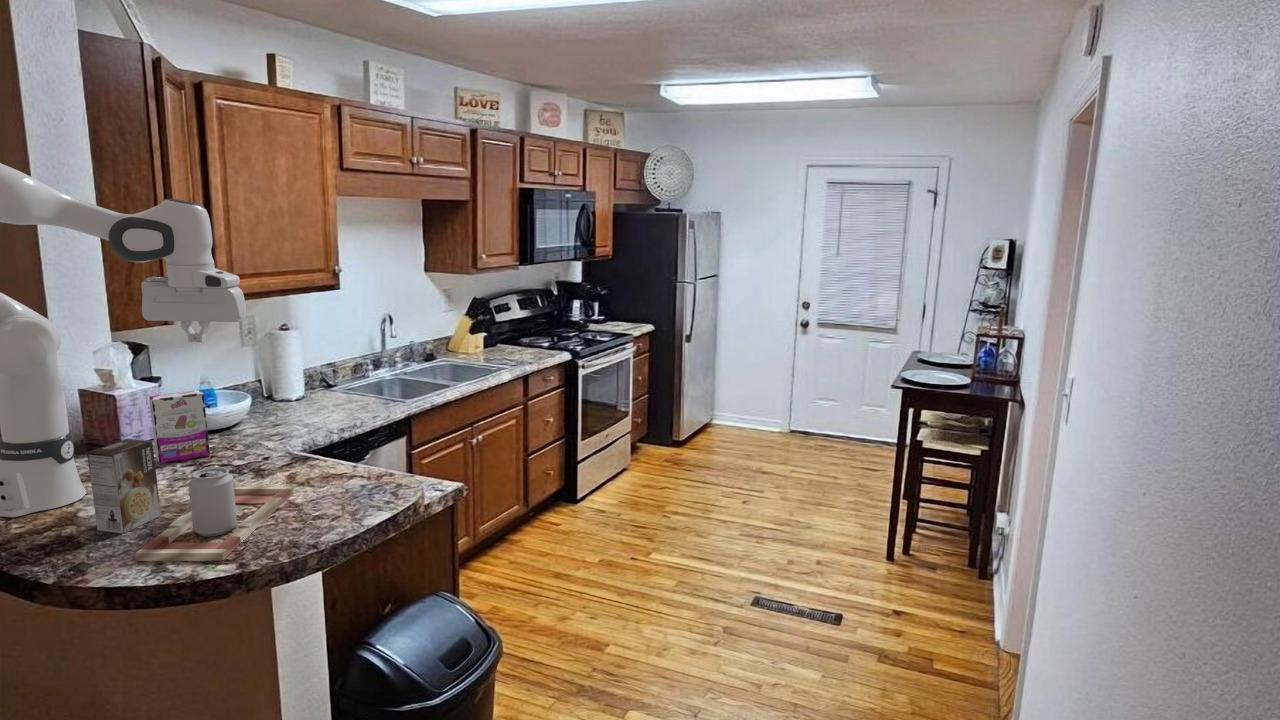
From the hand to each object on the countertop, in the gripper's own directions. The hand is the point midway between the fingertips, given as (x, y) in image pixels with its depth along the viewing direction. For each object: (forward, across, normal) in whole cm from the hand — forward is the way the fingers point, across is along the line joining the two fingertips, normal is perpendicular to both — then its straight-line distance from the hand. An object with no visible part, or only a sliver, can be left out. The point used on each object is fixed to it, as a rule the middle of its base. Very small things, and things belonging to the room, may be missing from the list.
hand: (197, 341), depth 165 cm
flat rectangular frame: (+33, +12, -20) cm, 40 cm away
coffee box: (+33, -6, -20) cm, 39 cm away
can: (+33, +12, -23) cm, 42 cm away
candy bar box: (+33, -16, +20) cm, 42 cm away
